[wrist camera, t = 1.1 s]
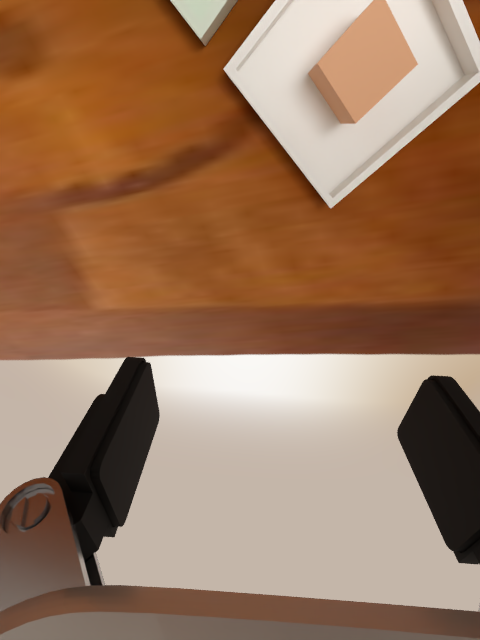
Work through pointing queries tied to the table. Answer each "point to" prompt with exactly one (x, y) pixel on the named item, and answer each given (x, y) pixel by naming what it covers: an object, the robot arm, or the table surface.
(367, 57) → the brown cube
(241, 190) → the table surface
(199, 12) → the green tray
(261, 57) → the white tray
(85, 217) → the table surface
